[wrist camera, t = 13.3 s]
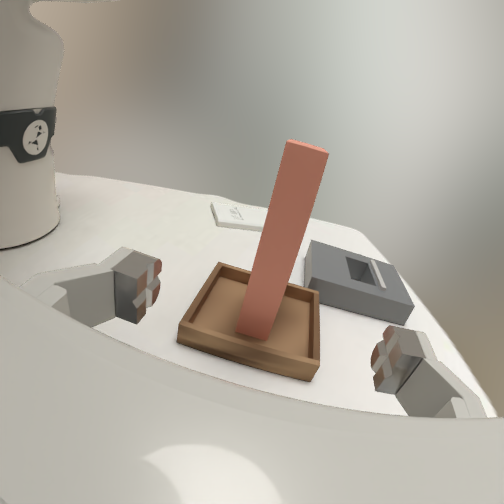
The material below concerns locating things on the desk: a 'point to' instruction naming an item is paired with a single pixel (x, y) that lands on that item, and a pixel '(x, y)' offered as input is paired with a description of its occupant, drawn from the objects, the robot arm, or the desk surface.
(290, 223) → the pink rectangular bar
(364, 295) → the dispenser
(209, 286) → the tray
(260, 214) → the external hard drive
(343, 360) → the desk surface
